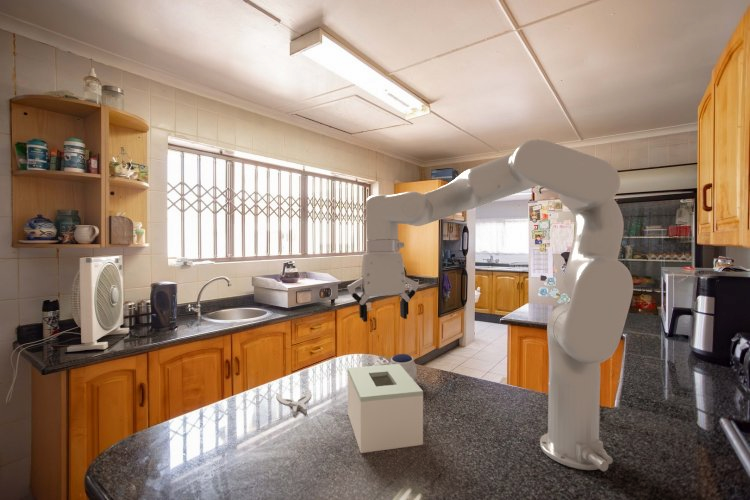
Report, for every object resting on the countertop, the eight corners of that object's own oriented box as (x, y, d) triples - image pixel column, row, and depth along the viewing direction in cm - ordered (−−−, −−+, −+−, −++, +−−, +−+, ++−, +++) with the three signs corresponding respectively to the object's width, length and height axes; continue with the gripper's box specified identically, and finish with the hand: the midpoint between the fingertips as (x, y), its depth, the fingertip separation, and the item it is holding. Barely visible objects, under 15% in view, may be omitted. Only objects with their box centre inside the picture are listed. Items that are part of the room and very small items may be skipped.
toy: (345, 356, 116) (401, 344, 123) (347, 384, 116) (403, 371, 124) (364, 376, 99) (428, 361, 106) (367, 409, 99) (430, 392, 107)
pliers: (309, 385, 110) (319, 407, 95) (309, 390, 110) (319, 413, 96) (275, 390, 106) (280, 413, 92) (275, 395, 106) (280, 419, 92)
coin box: (422, 444, 80) (423, 391, 80) (360, 453, 77) (360, 397, 77) (399, 407, 98) (399, 363, 97) (347, 413, 94) (347, 367, 94)
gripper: (412, 246, 92) (413, 313, 92) (344, 248, 88) (346, 318, 88) (422, 246, 84) (424, 319, 85) (349, 248, 80) (351, 325, 81)
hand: (384, 319), depth 86 cm, fingers open, 9 cm apart
